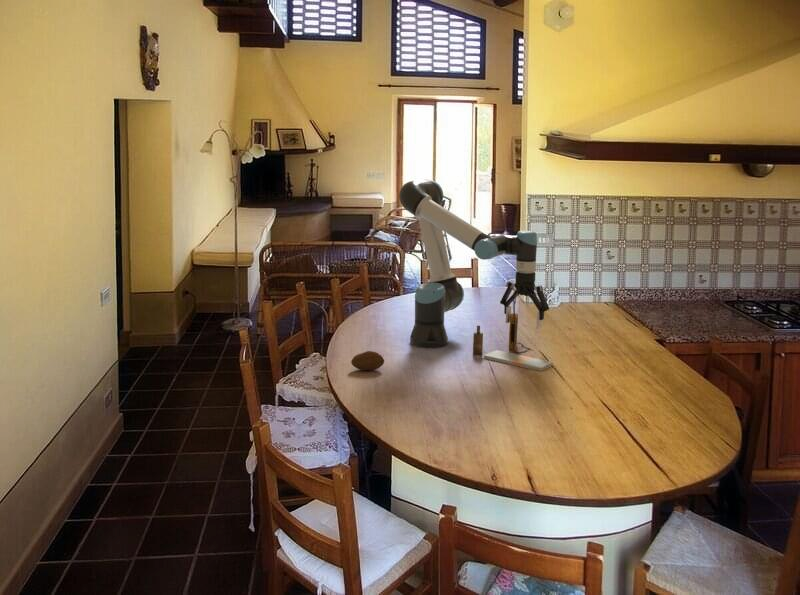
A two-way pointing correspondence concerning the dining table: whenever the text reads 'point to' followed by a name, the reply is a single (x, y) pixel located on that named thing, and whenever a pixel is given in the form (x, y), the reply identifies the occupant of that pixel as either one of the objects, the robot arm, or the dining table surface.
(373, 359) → the potato
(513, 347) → the multimeter
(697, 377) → the dining table surface
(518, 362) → the panel
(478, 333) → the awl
